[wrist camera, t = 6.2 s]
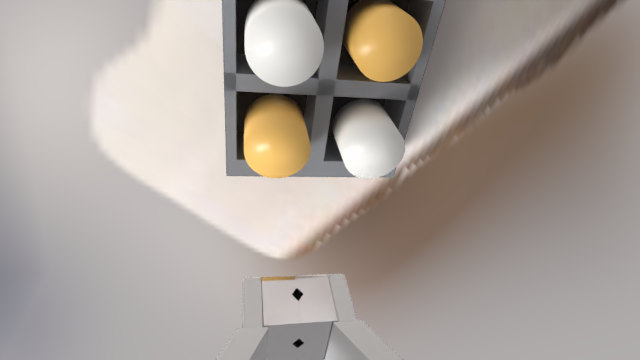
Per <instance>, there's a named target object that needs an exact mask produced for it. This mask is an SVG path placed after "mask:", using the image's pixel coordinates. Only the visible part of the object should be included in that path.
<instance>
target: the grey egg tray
mask: <svg viewBox="0 0 640 360" xmlns="http://www.w3.org/2000/svg"><path fill="white" fill-rule="evenodd" d="M348 1H349V0H318V2H317V11H316V20H315V21H316V23H317V25H318V26H319V28H320V31H321V33H322V36H323V41H324V53H323V58H322V61H321V63H320V65H319V67H318V69H317V70H316V72H315V73H314V74H313V75H312V76H311V77H310V78H309V79H307V80H306V81H304V82H302V83H300V84H298V85H294V86H289V87H280V86H275V85H271V84H269V83H267V82H265V81H263V80H262V79H260V78H259V77H258V76H257V75H256V74H255V73H254V72H253V71H252V69H251V68H250V66H249V64H248V62H247V59H246V55H243V54H237V0H222V20H223V58H224V97H225V135H226V174H227V176H262V175H260V174H258V173H256V172H255V171H254V170H253V169H252V168H251V167H250V166H249V165H248V163H247V162H246V159H245V156H244V135H239V134H237V91H243V92H262V93H281V94H300V95H307V101H306V110H305V119H304V121H305V125H306V129H307V133H308V137H309V140H310V144H311V153H310V157H309V160H308V161H307V163H306V164H305V166H304V167H303V168H302V169H301V170H300V171H298V172H297V173H295V174H293V175H291V176H288V177H356V176H354V175H353V174H351V173H350V172H349V171H348V170H347V168H346V167H345V164H344V162H343V159H342V156H341V153H340V151H339V148H338V145H337V143H336V140H335V137H327V136H328V130H329V123H330V117H331V110H332V104H333V97H334V96H338V97H356V98H375V99H386V101H385V106H384V109H385V111H386V112H387V114H388V115H389V117H390V119H391V120H392V122H393V123H394V125H395V126H396V128H397V129H398V131H399V132H400V134H401V135H402V137H403V139H404V140H405V137H406V133H407V130H408V127H409V123H410V120H411V116H412V113H413V110H414V106H415V103H416V99H417V96H418V93H419V89H420V86H421V82H422V79H423V76H424V72H425V69H426V65H427V62H428V59H429V55H430V52H431V49H432V45H433V42H434V38H435V35H436V32H437V28H438V25H439V21H440V18H441V15H442V11H443V8H444V4H445V1H446V0H410V3H409V7H408V11H407V14H409V15H410V16H412V17H413V18H414V19H415V20H416V21H417V23H418V24H419V26H420V28H421V31H422V36H423V45H422V51H421V54H420V56H419V58H418V60H417V62H416V64H415V65H414V66H413V68H412V69H411V70H410V71H409V72H407V73H406V74H405V75H403V76H402V77H400V78H398V79H396V80H393V81H388V82H378V81H374V80H371V79H369V78H368V77H366V76H365V75H364V74H363V73H362V72H361V71H360V69H359V68H358V66H357V65H356V63H354V62H340V61H339V59H340V52H341V46H342V39H343V33H344V27H345V20H346V14H347V7H348ZM395 171H396V168H395V169H393V170H392V171H391V172H389V173H388V174H386V175H384V176H381V177H394V174H395Z"/></svg>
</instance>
